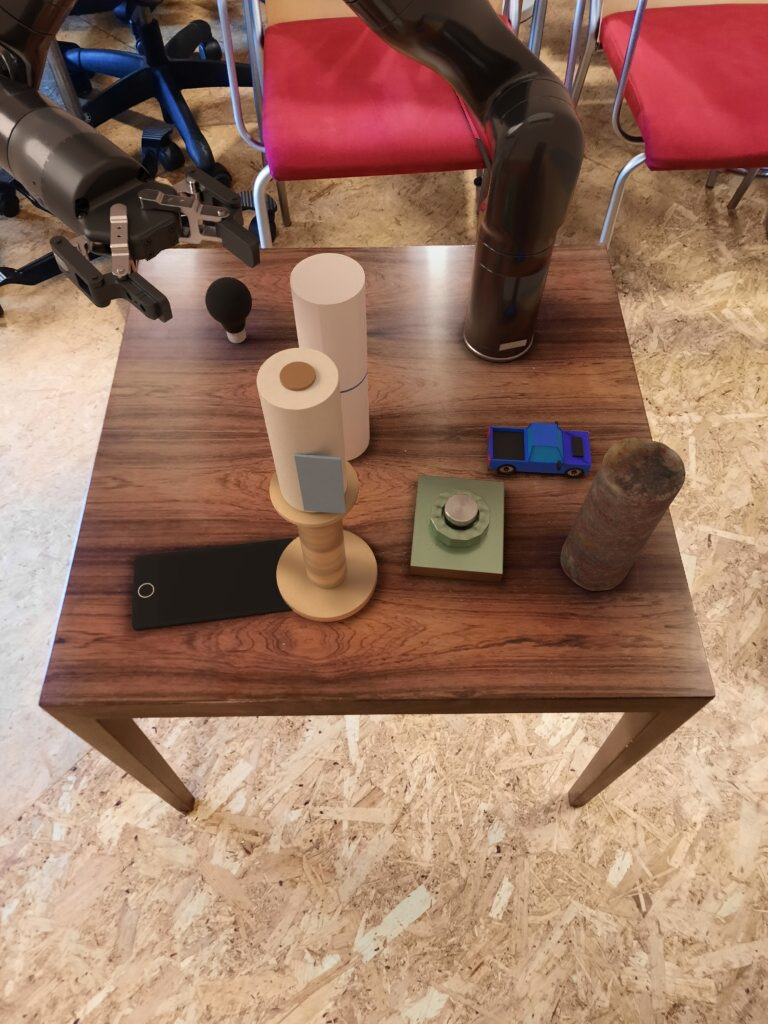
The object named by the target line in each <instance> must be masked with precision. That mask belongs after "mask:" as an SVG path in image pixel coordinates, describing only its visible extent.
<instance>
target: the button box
mask: <svg viewBox="0 0 768 1024" xmlns="http://www.w3.org/2000/svg"><path fill="white" fill-rule="evenodd" d="M416 485H417V487H416V495H415V497H416V498H415V508H414V519H413V531H412V542H411V550H410V551H411V552H410V563H409V575H410V576H421V577H431V578H444V579H456V580H464V581H465V580H466V581H478V582H490V583H498V584H499V583H501V581H502V579H503V575H504V542H505V541H504V537H505V535H504V534H505V533H504V531H505V530H504V529H505V481H502V480H500V481H499V480H487V479H477V478H476V479H475V478H462V477H452V476H451V477H450V476H439V475H438V476H437V475H426V474H418V475H417V484H416ZM455 494H466V495H469V496H470V497H472V498H473V499H474V500H475V501H476V503H477V505H478V513H477V518H476V521H475V523H474V524H473V525H472V526H471V527H469V528H467V529H462V530H461V529H455V528H453V527H451V526H449V525H448V524H447V522H446V521H445V519H444V509H445V503H446V501H447V500H448V499H449V498H450V497H451V496H453V495H455Z"/></svg>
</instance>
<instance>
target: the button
mask: <svg viewBox="0 0 768 1024" xmlns="http://www.w3.org/2000/svg"><path fill="white" fill-rule="evenodd" d="M477 513H478V505H477V503H476V501H475V500H474V499H473V498H472V497H470V496H469V495H466V494H455V495H453V496H451V497H450V498H449V499H448V500H447V501H446V503H445V509H444V519H445V521H446V522H447V524H448V525H449V526H451V527H453V528H455V529H461V530H462V529H467V528H469V527H471V526H472V525H473V524H474V523H475V521H476V518H477Z"/></svg>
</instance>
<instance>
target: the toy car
mask: <svg viewBox="0 0 768 1024" xmlns="http://www.w3.org/2000/svg"><path fill="white" fill-rule="evenodd" d="M590 443H591V442H590V435H589V431H585V430H584V431H583V430H566V429H565V430H564V429H563V428H561V427H560V426H559V421H554V423H545V422H531V423H529V425H528V426H526V427H507V426H492V425H491V426H489V428H488V431H487V434H486V462H487V463H486V471H491V472H492V471H496V473H497V474H499V475H500V476H511V475H514V474H515V473H516V472H521V473H522V472H524V473H525V472H526V473H544V474H559V475H560V474H561V475H564V476H565V477H566V478H568V479H574V480H575V479H579V478H581V477H590V474H591V469H592V455H591V445H590Z"/></svg>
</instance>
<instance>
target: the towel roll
mask: <svg viewBox="0 0 768 1024" xmlns="http://www.w3.org/2000/svg"><path fill="white" fill-rule="evenodd" d="M256 387H257V392H258V396H259V400H260V405H261V409H262V414H263V419H264V422H265V427H266V432H267V437H268V441H269V445H270V446H269V447H270V450H271V455H272V457H273V458H272V459H273V464H274V468H275V471H276V472H277V477H278V481H279V486H280V490H281V494H282V496H283V498H284V499H285V501H286V502H287V503H288V504H289V505H291V506H292V507H294V508H295V509H298V510H300V511H304V512H327V513H339V514H346V508H345V497H344V494H345V492H346V489H347V471H346V459H345V446H344V434H343V421H342V409H341V396H340V384H339V373H338V369H337V367H336V365H335V363H334V362H333V361H332V360H331V359H330V358H329V357H328V356H327V355H325V354H324V353H322V352H320V351H317V350H314V349H310V348H299V347H292V348H286V349H283V350H280V351H278V352H276V353H274V354H273V355H271V356H270V357H268V358H267V359H266V360H265V361H264V362H263V363H262V365H261V366H260V368H259V370H258V372H257V374H256Z"/></svg>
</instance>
